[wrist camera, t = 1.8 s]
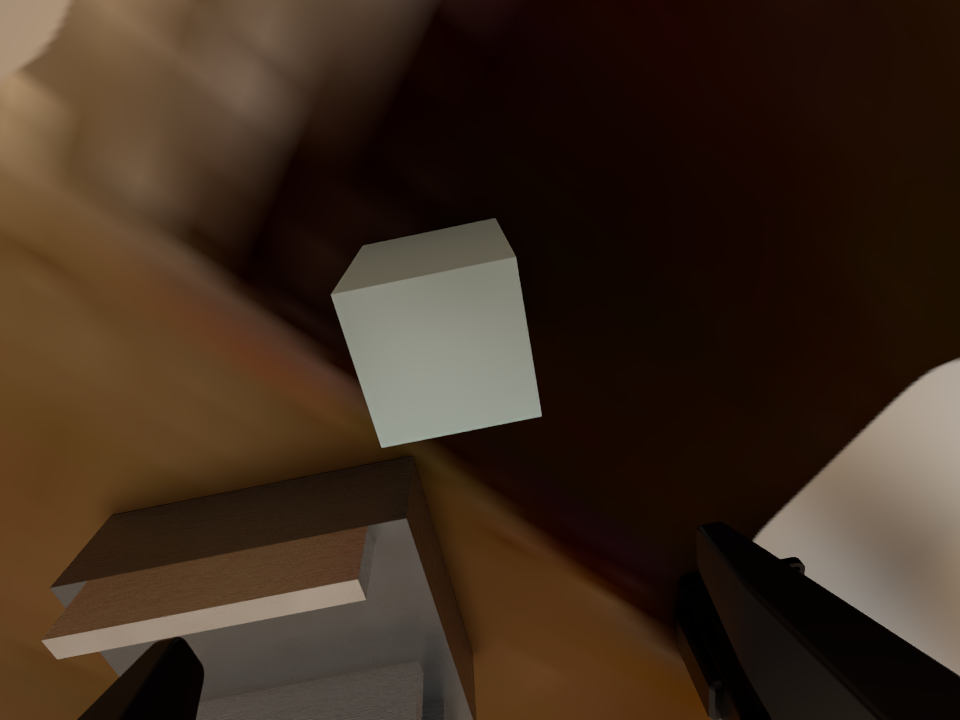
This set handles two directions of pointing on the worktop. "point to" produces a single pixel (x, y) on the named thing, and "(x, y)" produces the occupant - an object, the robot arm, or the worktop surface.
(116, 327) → the worktop surface
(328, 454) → the worktop surface
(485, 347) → the block
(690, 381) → the worktop surface
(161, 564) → the base
